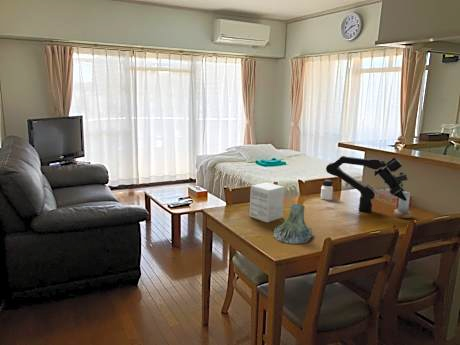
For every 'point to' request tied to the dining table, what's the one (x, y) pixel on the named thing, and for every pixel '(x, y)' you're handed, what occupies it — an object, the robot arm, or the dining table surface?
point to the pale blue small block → (404, 203)
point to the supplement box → (266, 201)
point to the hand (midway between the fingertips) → (406, 198)
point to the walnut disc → (402, 214)
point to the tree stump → (294, 227)
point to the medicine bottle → (327, 190)
